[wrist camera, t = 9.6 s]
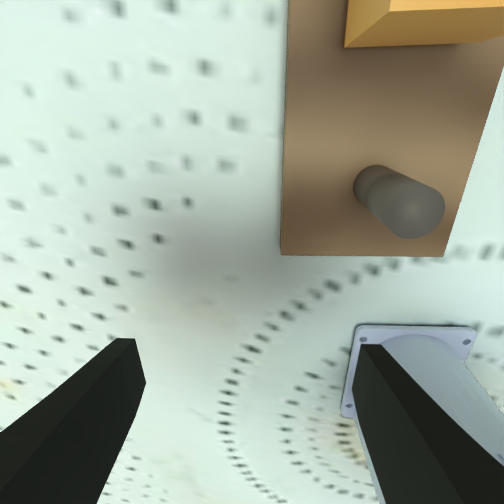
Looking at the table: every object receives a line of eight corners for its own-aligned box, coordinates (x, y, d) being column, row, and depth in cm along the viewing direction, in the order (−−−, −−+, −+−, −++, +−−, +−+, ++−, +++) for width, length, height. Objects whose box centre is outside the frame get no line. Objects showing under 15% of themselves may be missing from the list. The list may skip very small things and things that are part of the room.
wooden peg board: (429, 245, 17) (503, 306, 12) (279, 244, 18) (286, 302, 12) (546, -161, 10) (860, -467, 5) (293, -147, 11) (321, -415, 5)
